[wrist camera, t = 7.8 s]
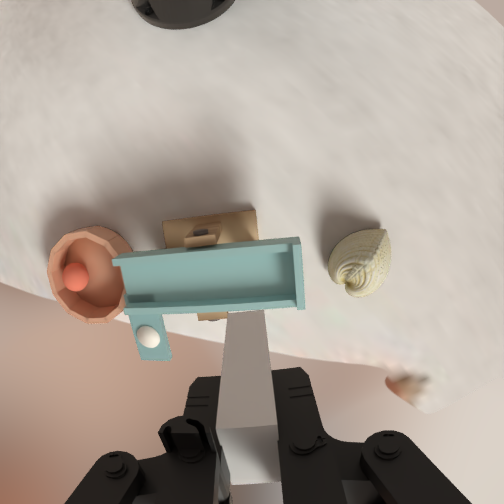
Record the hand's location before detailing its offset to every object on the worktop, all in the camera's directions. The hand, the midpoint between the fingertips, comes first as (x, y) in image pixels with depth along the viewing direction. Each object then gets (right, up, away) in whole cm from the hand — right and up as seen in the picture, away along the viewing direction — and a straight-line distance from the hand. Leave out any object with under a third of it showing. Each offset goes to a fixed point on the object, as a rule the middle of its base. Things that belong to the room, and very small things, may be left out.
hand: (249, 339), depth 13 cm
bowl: (-22, +1, +29) cm, 36 cm away
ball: (-23, +1, +27) cm, 36 cm away
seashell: (+15, +3, +30) cm, 33 cm away
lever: (-4, -2, +22) cm, 23 cm away
